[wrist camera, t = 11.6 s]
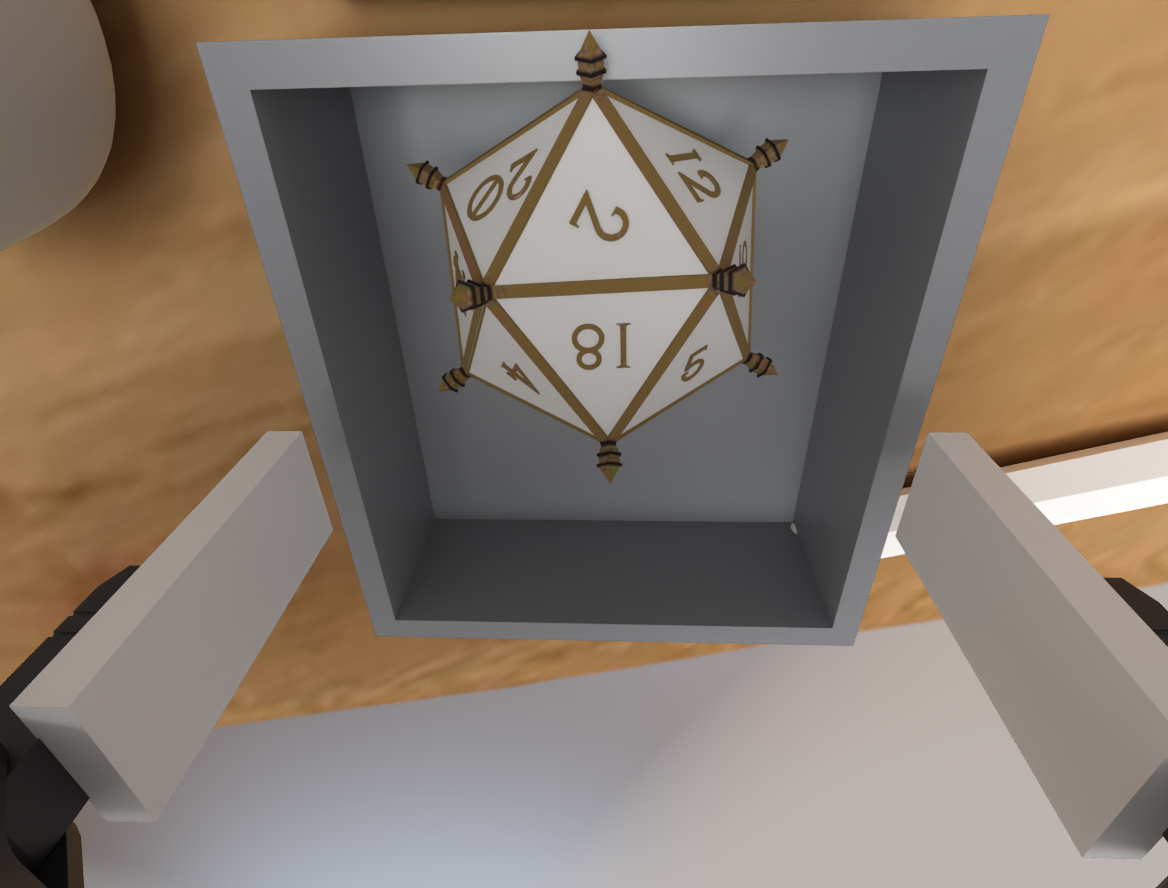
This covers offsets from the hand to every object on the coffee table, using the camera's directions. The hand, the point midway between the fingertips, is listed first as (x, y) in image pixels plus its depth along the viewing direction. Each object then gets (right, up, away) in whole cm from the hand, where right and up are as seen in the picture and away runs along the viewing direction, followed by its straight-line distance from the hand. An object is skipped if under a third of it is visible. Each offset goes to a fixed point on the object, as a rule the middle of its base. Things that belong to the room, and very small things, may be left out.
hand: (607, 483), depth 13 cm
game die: (0, +5, +5) cm, 7 cm away
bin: (0, +5, +7) cm, 9 cm away
